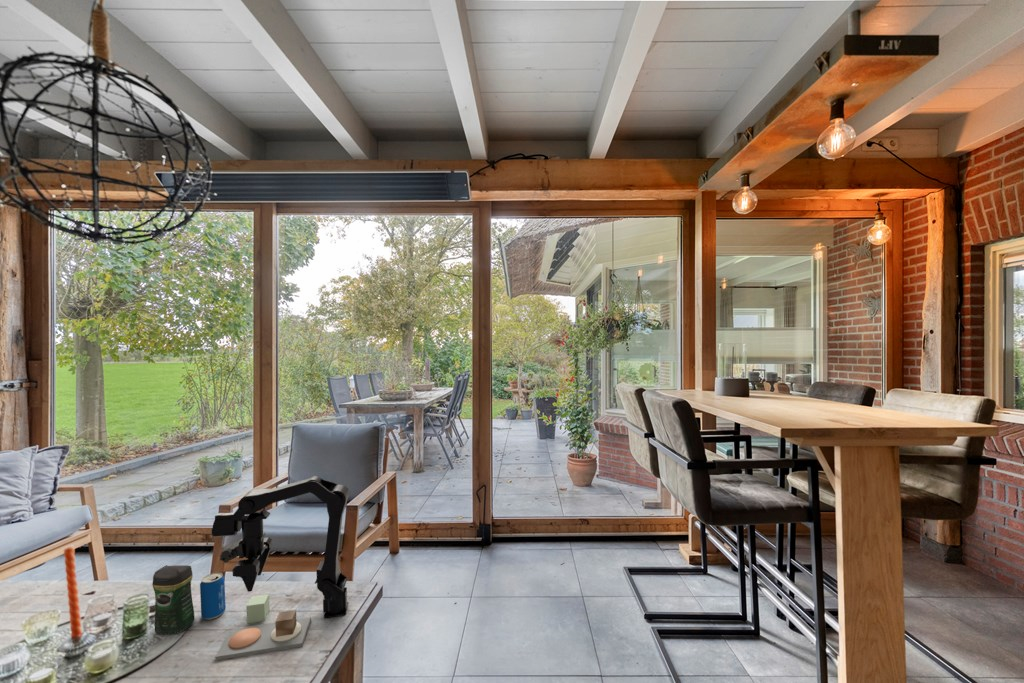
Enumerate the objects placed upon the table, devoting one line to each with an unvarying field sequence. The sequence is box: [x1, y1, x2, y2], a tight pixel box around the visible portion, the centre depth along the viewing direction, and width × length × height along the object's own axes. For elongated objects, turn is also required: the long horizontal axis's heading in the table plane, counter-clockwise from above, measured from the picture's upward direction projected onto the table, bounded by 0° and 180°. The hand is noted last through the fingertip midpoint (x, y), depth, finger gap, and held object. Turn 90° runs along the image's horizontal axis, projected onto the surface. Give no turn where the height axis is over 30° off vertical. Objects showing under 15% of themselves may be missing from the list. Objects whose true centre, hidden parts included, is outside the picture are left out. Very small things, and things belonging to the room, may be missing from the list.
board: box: [214, 616, 312, 661], centre depth 133 cm, size 22×12×2 cm, turn 103°
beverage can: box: [199, 572, 226, 620], centre depth 145 cm, size 6×6×12 cm
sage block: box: [246, 593, 271, 624], centre depth 143 cm, size 5×5×6 cm
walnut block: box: [274, 609, 297, 637], centre depth 134 cm, size 4×4×4 cm
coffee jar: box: [151, 564, 196, 635], centre depth 139 cm, size 10×8×19 cm
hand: (254, 583), depth 140 cm, fingers open, 9 cm apart
